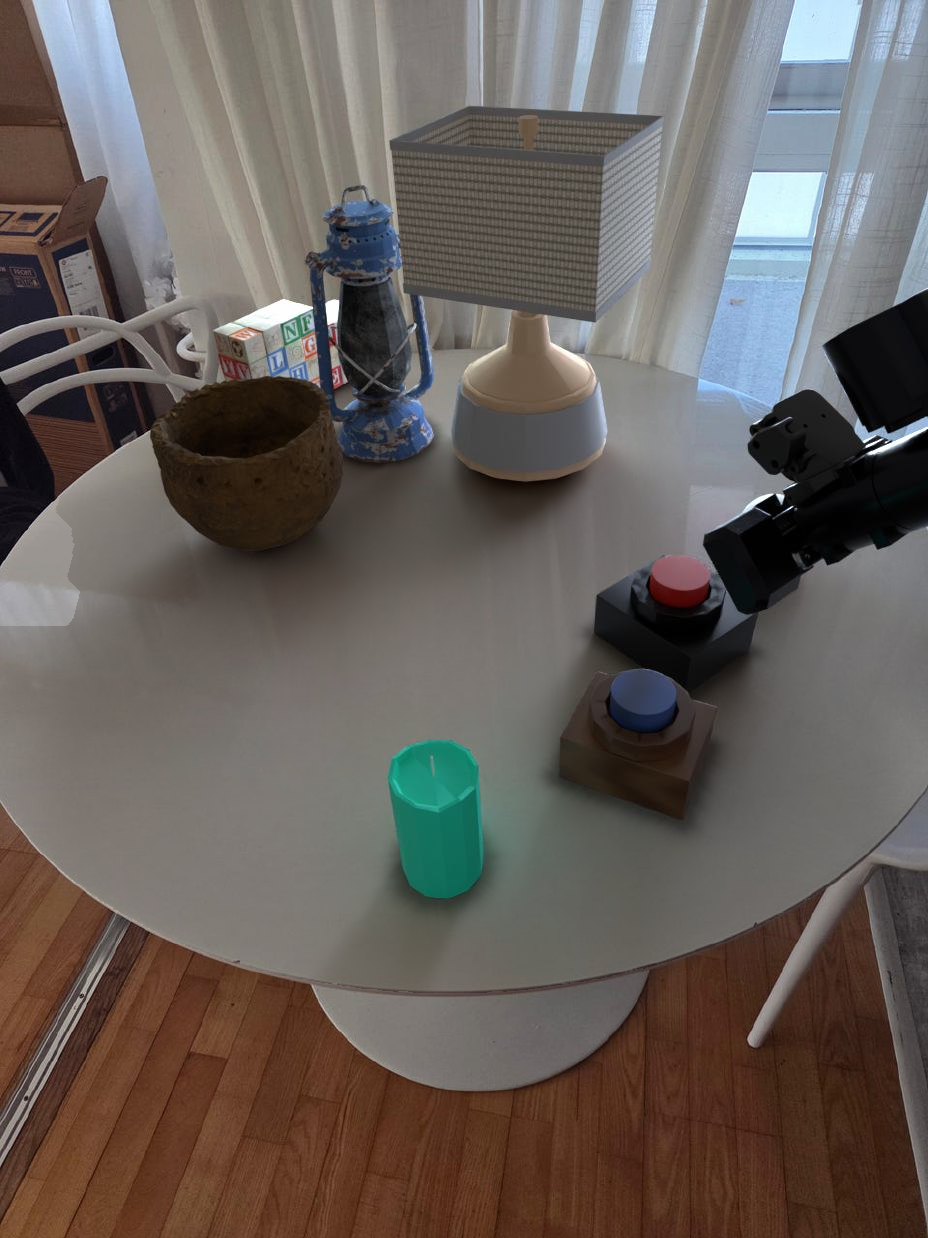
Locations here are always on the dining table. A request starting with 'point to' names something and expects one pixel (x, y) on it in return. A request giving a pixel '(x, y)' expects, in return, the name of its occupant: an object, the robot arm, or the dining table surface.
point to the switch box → (673, 629)
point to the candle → (437, 816)
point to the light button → (679, 581)
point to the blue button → (642, 700)
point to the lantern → (370, 334)
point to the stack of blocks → (277, 344)
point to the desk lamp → (528, 263)
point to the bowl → (250, 460)
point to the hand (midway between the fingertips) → (735, 551)
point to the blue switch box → (636, 750)
